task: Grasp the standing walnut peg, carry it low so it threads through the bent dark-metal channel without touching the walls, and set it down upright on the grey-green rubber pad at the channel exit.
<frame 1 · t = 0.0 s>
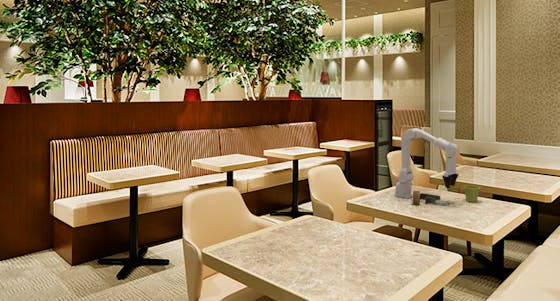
hand: (450, 186, 254), 10 cm above the table, fingers open, 7 cm apart
plant pot: (471, 201, 260), on the table
walled course: (424, 200, 262), on the table
end pad: (441, 203, 255), on the table
peg: (416, 204, 253), on the table
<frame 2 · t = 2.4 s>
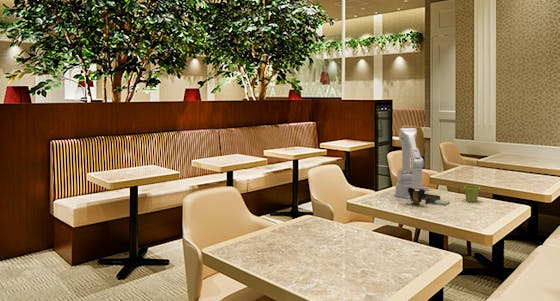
hand: (416, 201, 253), 2 cm above the table, fingers closed on peg, 4 cm apart
peg: (416, 204, 253), on the table, touching gripper
everything else where it was.
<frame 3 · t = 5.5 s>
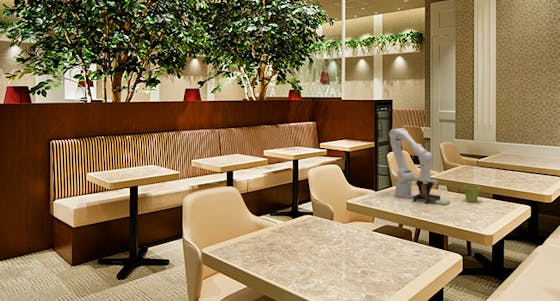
hand: (424, 193, 261), 4 cm above the table, fingers closed on peg, 4 cm apart
peg: (424, 197, 262), point 2 cm above the table, touching gripper
everything else where it was.
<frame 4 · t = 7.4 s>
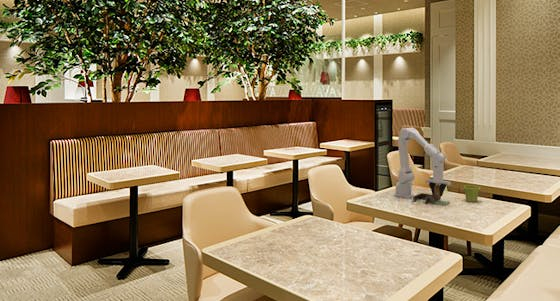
hand: (437, 195, 257), 4 cm above the table, fingers closed on peg, 4 cm apart
peg: (437, 198, 257), point 2 cm above the table, touching gripper
everything else where it was.
when the fingers open (4 cm above the table, at t = 8.8 s): peg stays where it is, resting on end pad.
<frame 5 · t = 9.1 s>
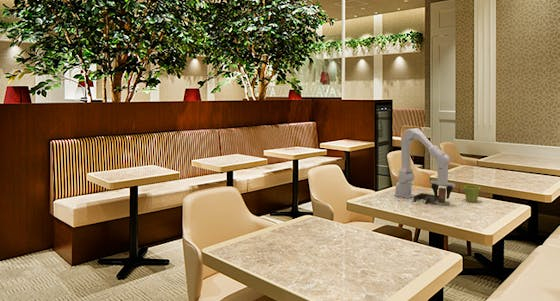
hand: (441, 197, 255), 4 cm above the table, fingers open, 6 cm apart
peg: (441, 201, 255), point 1 cm above the table, touching end pad
everything else where it was.
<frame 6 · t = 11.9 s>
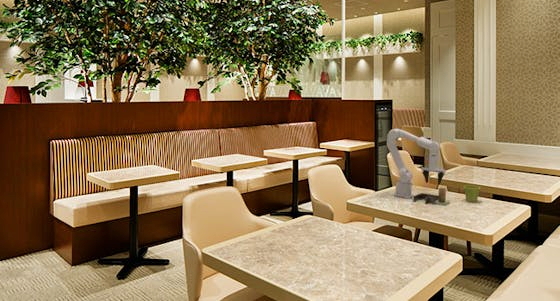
hand: (433, 183, 265), 10 cm above the table, fingers open, 7 cm apart
nothing on the table moved.
at the end: peg 0.0 cm off-centre on the end pad, point 1.0 cm above the end pad's base; peg tilted 1°; peg touching end pad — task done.
